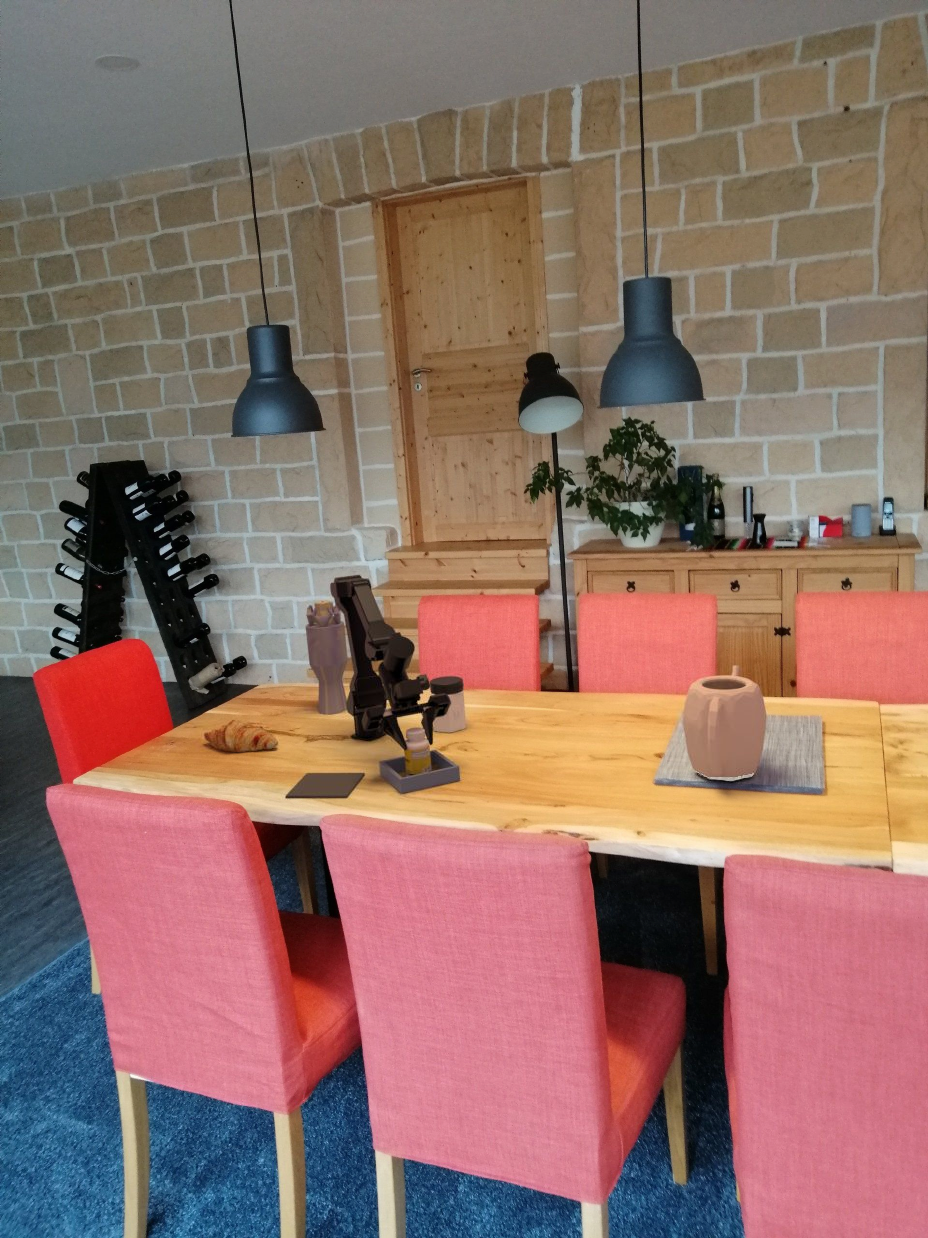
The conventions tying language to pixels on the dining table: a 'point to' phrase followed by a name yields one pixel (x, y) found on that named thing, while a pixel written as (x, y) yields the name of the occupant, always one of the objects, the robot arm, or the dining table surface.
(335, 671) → the vase
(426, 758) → the supplement bottle
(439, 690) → the jar
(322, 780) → the mat
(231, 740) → the croissant
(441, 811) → the dining table surface
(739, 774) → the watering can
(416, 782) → the grey square frame
